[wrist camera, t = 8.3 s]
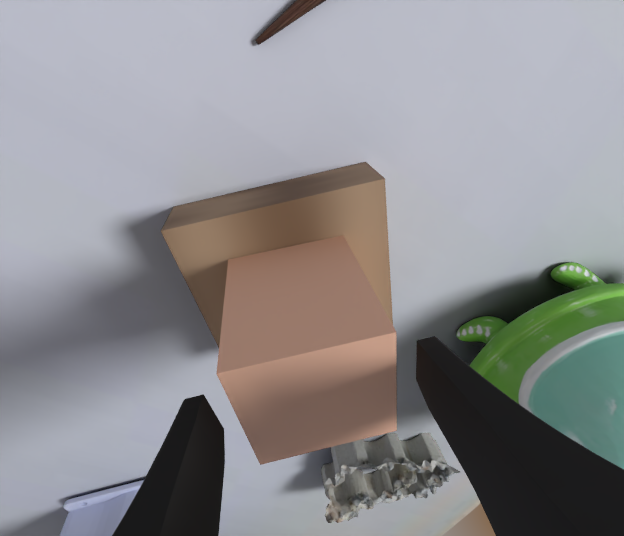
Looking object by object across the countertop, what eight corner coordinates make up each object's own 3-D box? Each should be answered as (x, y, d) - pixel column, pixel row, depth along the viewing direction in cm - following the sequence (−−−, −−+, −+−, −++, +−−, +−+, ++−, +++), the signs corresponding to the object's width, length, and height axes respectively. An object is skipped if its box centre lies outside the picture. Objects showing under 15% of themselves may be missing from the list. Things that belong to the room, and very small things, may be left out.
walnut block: (235, 337, 20) (233, 376, 18) (175, 202, 15) (160, 231, 13) (375, 302, 20) (393, 336, 18) (362, 159, 15) (384, 178, 13)
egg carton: (312, 473, 30) (320, 526, 27) (338, 425, 27) (351, 478, 23) (410, 472, 33) (428, 519, 30) (445, 429, 30) (470, 476, 26)
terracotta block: (256, 341, 16) (260, 464, 11) (228, 259, 14) (216, 373, 9) (352, 320, 17) (396, 430, 12) (343, 235, 14) (396, 332, 9)
